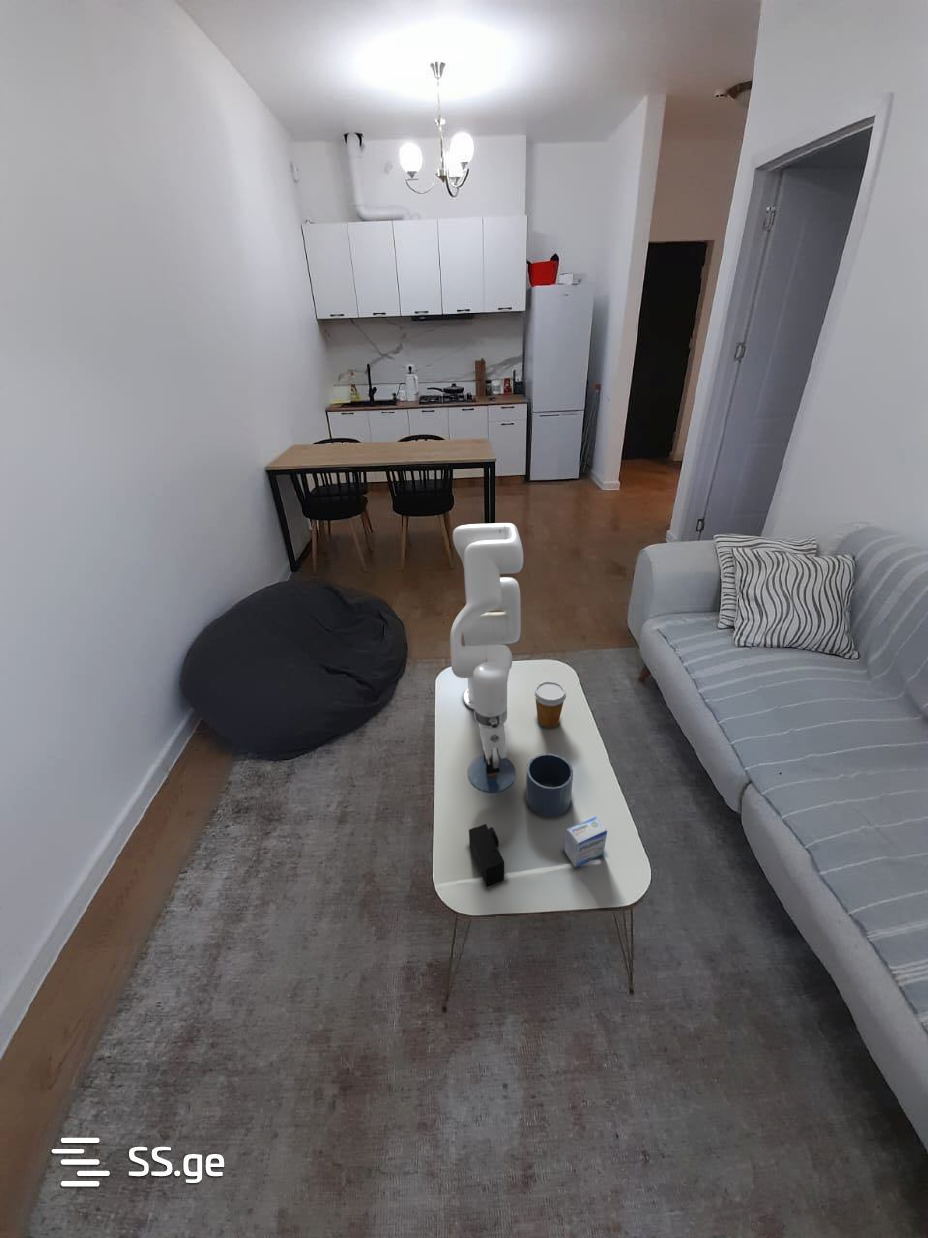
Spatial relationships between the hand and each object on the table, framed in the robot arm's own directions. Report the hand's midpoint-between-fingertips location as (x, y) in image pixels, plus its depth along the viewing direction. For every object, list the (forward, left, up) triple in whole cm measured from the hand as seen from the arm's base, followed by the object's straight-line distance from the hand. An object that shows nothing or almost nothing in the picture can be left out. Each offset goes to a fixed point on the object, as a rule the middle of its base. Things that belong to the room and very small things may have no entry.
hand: (491, 766), depth 123 cm
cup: (+3, +14, -11) cm, 18 cm away
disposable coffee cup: (-25, +22, -11) cm, 35 cm away
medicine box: (+19, +18, -11) cm, 29 cm away
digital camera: (+18, -4, -11) cm, 22 cm away
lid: (0, 0, -3) cm, 3 cm away
